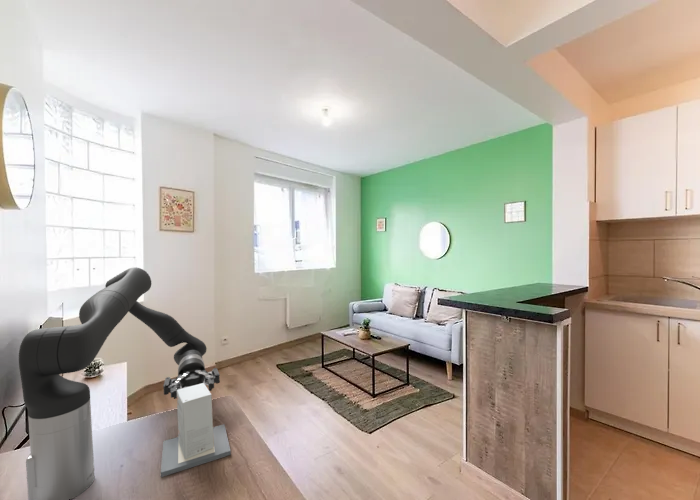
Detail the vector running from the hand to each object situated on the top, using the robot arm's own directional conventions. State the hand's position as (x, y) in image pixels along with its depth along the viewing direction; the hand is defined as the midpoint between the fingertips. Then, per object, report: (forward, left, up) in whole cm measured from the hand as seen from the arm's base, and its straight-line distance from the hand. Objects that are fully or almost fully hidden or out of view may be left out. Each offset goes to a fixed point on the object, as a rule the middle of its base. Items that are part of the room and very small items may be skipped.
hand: (193, 391), depth 85 cm
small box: (0, -11, -9) cm, 14 cm away
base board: (0, -11, -9) cm, 15 cm away
